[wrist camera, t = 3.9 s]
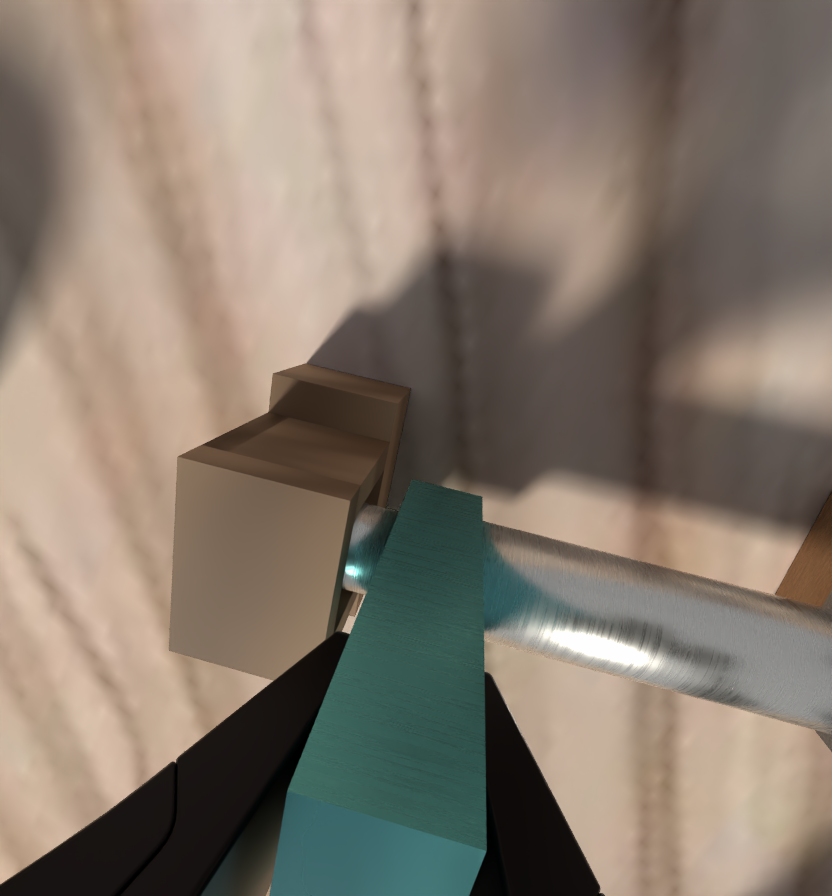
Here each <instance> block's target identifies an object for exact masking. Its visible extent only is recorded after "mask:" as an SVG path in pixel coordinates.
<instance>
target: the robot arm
mask: <svg viewBox="0 0 832 896" xmlns="http://www.w3.org/2000/svg"><path fill="white" fill-rule="evenodd" d="M349 635H350V634H348V633H344V632H341V631H336V632H334V633H333V634H332V635H331V636H329V637H328V638H327V639H326V640H324V641H323V642H322V643H321V644H319V645H318V646H317V647H316V648H314V649H313V650H312V651H310V652H309V653H308V654H307V655H305V656H304V657H303V658H302V659H300V660H299V661H298V662H297V663H295V664H294V665H293V666H292V667H290V668H289V669H288V670H287V671H285V672H284V673H283V674H282V675H280V676H279V677H278V678H277V679H275V680H274V681H273V682H272V683H270V684H269V685H268V686H267V687H265V688H264V689H263V690H262V691H260V692H259V693H258V694H257V695H255V696H254V697H253V698H252V699H250V700H249V701H248V702H247V703H245V704H244V705H243V706H241V707H240V708H239V709H238V710H236V711H235V712H234V713H233V714H231V715H230V716H229V717H228V718H226V719H225V720H224V721H223V722H221V723H220V724H219V725H218V726H216V727H215V728H214V729H213V730H211V731H210V732H209V733H208V734H206V735H205V736H204V737H203V738H201V739H200V740H199V741H198V742H196V743H195V744H194V745H193V746H191V747H190V748H189V749H188V750H186V751H185V752H184V753H183V754H181V755H180V756H179V757H178V758H177V759H176V763H175V762H171V763H170V764H168V765H167V766H166V767H165V768H163V769H162V770H161V771H160V772H158V773H157V774H156V775H155V776H153V777H152V778H151V779H150V780H148V781H147V782H146V783H144V784H143V785H142V786H141V787H139V788H138V789H137V790H135V791H134V792H133V793H131V794H130V795H129V796H127V797H126V798H125V799H123V800H122V801H121V802H119V803H118V804H117V805H116V806H114V807H113V808H112V809H110V810H109V811H108V812H106V813H105V814H103V815H102V816H100V817H99V818H98V819H96V820H95V821H93V822H92V823H90V824H89V825H87V826H86V827H85V828H83V829H82V830H80V831H79V832H77V833H76V834H74V835H73V836H72V837H70V838H69V839H67V840H66V841H64V842H63V843H61V844H60V845H59V846H57V847H56V848H54V849H53V850H51V851H50V852H48V853H47V854H45V855H44V856H42V857H41V858H39V859H38V860H36V861H35V862H33V863H32V864H30V865H29V866H27V867H26V868H24V869H23V870H21V871H20V872H18V873H17V874H15V875H14V876H12V877H11V878H9V879H8V880H6V881H5V882H3V883H2V884H0V896H266V894H267V891H268V889H269V887H270V884H271V882H272V878H273V872H274V866H275V860H276V854H277V849H278V843H279V837H280V831H281V825H282V819H283V813H284V808H285V802H286V796H287V790H288V788H289V785H290V783H291V780H292V778H293V775H294V773H295V770H296V768H297V765H298V763H299V760H300V758H301V755H302V753H303V750H304V748H305V745H306V743H307V740H308V738H309V735H310V733H311V730H312V728H313V725H314V723H315V720H316V718H317V715H318V713H319V710H320V708H321V705H322V703H323V700H324V698H325V695H326V693H327V690H328V688H329V685H330V683H331V680H332V678H333V675H334V673H335V670H336V668H337V665H338V663H339V660H340V658H341V655H342V653H343V650H344V648H345V645H346V643H347V640H348V638H349ZM484 677H485V758H486V839H487V851H486V854H485V856H484V859H483V861H482V864H481V866H480V869H479V872H478V874H477V877H476V879H475V882H474V884H473V887H472V889H471V892H470V894H469V896H605V895H604V894H603V893H600V894H599V892H600V885H599V883H598V881H597V880H596V878H595V876H594V874H593V872H592V870H591V868H590V866H589V864H588V862H587V860H586V858H585V856H584V854H583V852H582V850H581V848H580V846H579V844H578V842H577V841H576V839H575V837H574V835H573V833H572V831H571V829H570V827H569V825H568V823H567V821H566V819H565V817H564V815H563V813H562V811H561V809H560V807H559V805H558V803H557V802H556V800H555V798H554V796H553V794H552V792H551V790H550V788H549V786H548V784H547V782H546V780H545V778H544V776H543V774H542V772H541V770H540V768H539V766H538V765H537V763H536V761H535V759H534V757H533V755H532V753H531V751H530V749H529V747H528V745H527V743H526V741H525V739H524V737H523V735H522V733H521V731H520V729H519V727H518V726H517V724H516V722H515V720H514V718H513V716H512V714H511V712H510V710H509V708H508V706H507V704H506V702H505V700H504V698H503V696H502V694H501V692H500V690H499V688H498V687H497V685H496V683H495V681H494V679H493V677H492V676H491V674H489V673H488V672H484Z"/></svg>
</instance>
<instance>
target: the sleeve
mask: <svg viewBox="0 0 832 896" xmlns="http://www.w3.org/2000/svg"><path fill="white" fill-rule="evenodd" d="M775 595H777V596H781V597H784V598H788V599H792V600H796V601H800V602H804V603H808V604H812V605H816V606H820V607H824V608H828V609H832V493H831V495H830V497H829V498H828V500H827V502H826V504H825V506H824V507H823V509H822V511H821V513H820V515H819V516H818V518H817V520H816V522H815V524H814V525H813V527H812V529H811V531H810V533H809V534H808V536H807V538H806V540H805V542H804V544H803V545H802V547H801V549H800V551H799V553H798V554H797V556H796V558H795V560H794V562H793V563H792V565H791V567H790V569H789V571H788V572H787V574H786V576H785V578H784V580H783V581H782V583H781V585H780V587H779V589H778V590H777V592H776V594H775ZM815 731H816V733H817V734H818V735H819V736H820V738H821V739H822V740H823V741H824V743H825V744H826V745H827V746H828V748H829V749H830V750H831V751H832V734H828V733H824V732H821V731H817V730H815Z"/></svg>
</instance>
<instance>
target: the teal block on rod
mask: <svg viewBox="0 0 832 896" xmlns="http://www.w3.org/2000/svg"><path fill="white" fill-rule="evenodd" d="M342 589H346V590H350V591H353V592H357V593H361V594H364V595H365V598H364V600H363V603H362V605H361V608H360V610H359V613H358V615H357V618H356V620H355V623H354V625H353V628H352V630H351V633H350V635H349V638H348V640H347V643H346V645H345V648H344V650H343V653H342V655H341V658H340V660H339V663H338V665H337V668H336V670H335V673H334V675H333V678H332V680H331V683H330V685H329V688H328V690H327V693H326V695H325V698H324V700H323V703H322V705H321V708H320V710H319V713H318V715H317V718H316V720H315V723H314V725H313V728H312V730H311V733H310V735H309V738H308V740H307V743H306V745H305V748H304V750H303V753H302V755H301V758H300V760H299V763H298V765H297V768H296V770H295V773H294V775H293V778H292V780H291V783H290V785H289V788H288V790H287V796H286V802H285V808H284V813H283V819H282V825H281V831H280V837H279V843H278V849H277V854H276V860H275V866H274V872H273V878H272V884H271V890H270V895H269V896H469V894H470V892H471V889H472V887H473V884H474V882H475V879H476V877H477V874H478V872H479V869H480V866H481V864H482V861H483V859H484V856H485V854H486V851H487V839H486V758H485V677H484V640H485V641H489V642H492V643H496V644H500V645H503V646H507V647H511V648H514V649H518V650H522V651H525V652H529V653H533V654H536V655H540V656H544V657H548V658H551V659H555V660H559V661H562V662H566V663H570V664H573V665H577V666H581V667H584V668H588V669H592V670H595V671H599V672H603V673H607V674H610V675H614V676H618V677H621V678H625V679H629V680H632V681H636V682H640V683H643V684H647V685H651V686H655V687H658V688H662V689H666V690H669V691H673V692H677V693H680V694H684V695H688V696H691V697H695V698H699V699H702V700H706V701H710V702H714V703H717V704H721V705H725V706H728V707H732V708H736V709H739V710H743V711H747V712H750V713H754V714H758V715H761V716H765V717H769V718H773V719H776V720H780V721H784V722H787V723H791V724H795V725H798V726H802V727H806V728H809V729H813V730H817V731H821V732H824V733H828V734H832V609H828V608H824V607H820V606H816V605H812V604H808V603H804V602H800V601H796V600H792V599H788V598H784V597H781V596H777V595H773V594H769V593H765V592H761V591H757V590H753V589H749V588H745V587H741V586H737V585H733V584H729V583H725V582H721V581H717V580H714V579H710V578H706V577H702V576H698V575H694V574H690V573H686V572H682V571H678V570H674V569H670V568H666V567H662V566H658V565H654V564H651V563H647V562H643V561H639V560H635V559H631V558H627V557H623V556H619V555H615V554H611V553H607V552H603V551H599V550H595V549H591V548H587V547H584V546H580V545H576V544H572V543H568V542H564V541H560V540H556V539H552V538H548V537H544V536H540V535H536V534H532V533H528V532H524V531H521V530H517V529H513V528H509V527H505V526H501V525H497V524H493V523H489V522H485V521H483V515H482V496H478V495H474V494H470V493H466V492H462V491H458V490H454V489H450V488H446V487H442V486H438V485H434V484H430V483H426V482H422V481H418V480H414V479H412V480H411V483H410V485H409V488H408V490H407V493H406V495H405V498H404V500H403V503H402V505H401V508H400V510H399V512H398V511H394V510H390V509H386V508H383V507H379V506H375V505H371V504H367V503H364V504H363V506H362V507H361V509H360V511H359V513H358V514H357V516H356V518H355V519H354V524H353V530H352V535H351V540H350V546H349V551H348V556H347V562H346V567H345V572H344V578H343V583H342Z"/></svg>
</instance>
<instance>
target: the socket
mask: <svg viewBox="0 0 832 896" xmlns="http://www.w3.org/2000/svg"><path fill="white" fill-rule="evenodd" d="M410 391H411V388H406V387H402V386H398V385H394V384H390V383H385V382H381V381H377V380H373V379H368V378H364V377H360V376H356V375H352V374H347V373H343V372H339V371H335V370H330V369H326V368H322V367H318V366H314V365H309V364H302V365H299V366H296V367H293V368H289V369H286V370H283V371H280V372H277V373H273V377H272V387H271V396H270V405H269V412H268V413H266V414H264V415H262V416H260V417H258V418H256V419H254V420H252V421H250V422H248V423H246V424H244V425H242V426H240V427H238V428H235V429H233V430H231V431H229V432H227V433H225V434H223V435H221V436H219V437H217V438H215V439H213V440H211V441H209V442H207V443H205V444H203V445H201V446H199V447H197V448H194V449H192V450H190V451H188V452H186V453H184V454H182V455H180V456H178V459H177V481H176V503H175V526H174V548H173V571H172V593H171V615H170V638H169V651H172V652H176V653H179V654H183V655H186V656H190V657H193V658H197V659H200V660H204V661H207V662H211V663H214V664H218V665H221V666H225V667H228V668H232V669H235V670H239V671H242V672H246V673H249V674H253V675H256V676H260V677H263V678H267V679H270V680H275V679H277V678H278V677H279V676H280V675H282V674H283V673H284V672H285V671H287V670H288V669H289V668H290V667H292V666H293V665H294V664H295V663H297V662H298V661H299V660H300V659H302V658H303V657H304V656H305V655H307V654H308V653H309V652H310V651H312V650H313V649H314V648H316V647H317V646H318V645H319V644H321V643H322V642H323V641H324V640H326V639H327V638H328V637H329V636H331V635H332V634H333V633H334V632H336V631H341V632H342V630H343V627H344V625H345V623H346V620H347V618H348V616H349V615H350V616H354V617H355V615H356V612H357V610H358V607H359V605H360V602H361V600H362V597H363V595H364V594H361V593H357V592H353V591H350V590H346V589H342V583H343V578H344V572H345V567H346V562H347V556H348V551H349V546H350V540H351V535H352V530H353V524H354V519H355V518H356V516H357V514H358V513H359V511H360V509H361V507H362V506H363V504H364V503H367V504H371V505H375V506H379V507H383V508H386V505H387V500H388V495H389V490H390V486H391V481H392V476H393V471H394V467H395V462H396V457H397V452H398V448H399V443H400V438H401V433H402V429H403V424H404V419H405V414H406V410H407V405H408V400H409V395H410Z"/></svg>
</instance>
